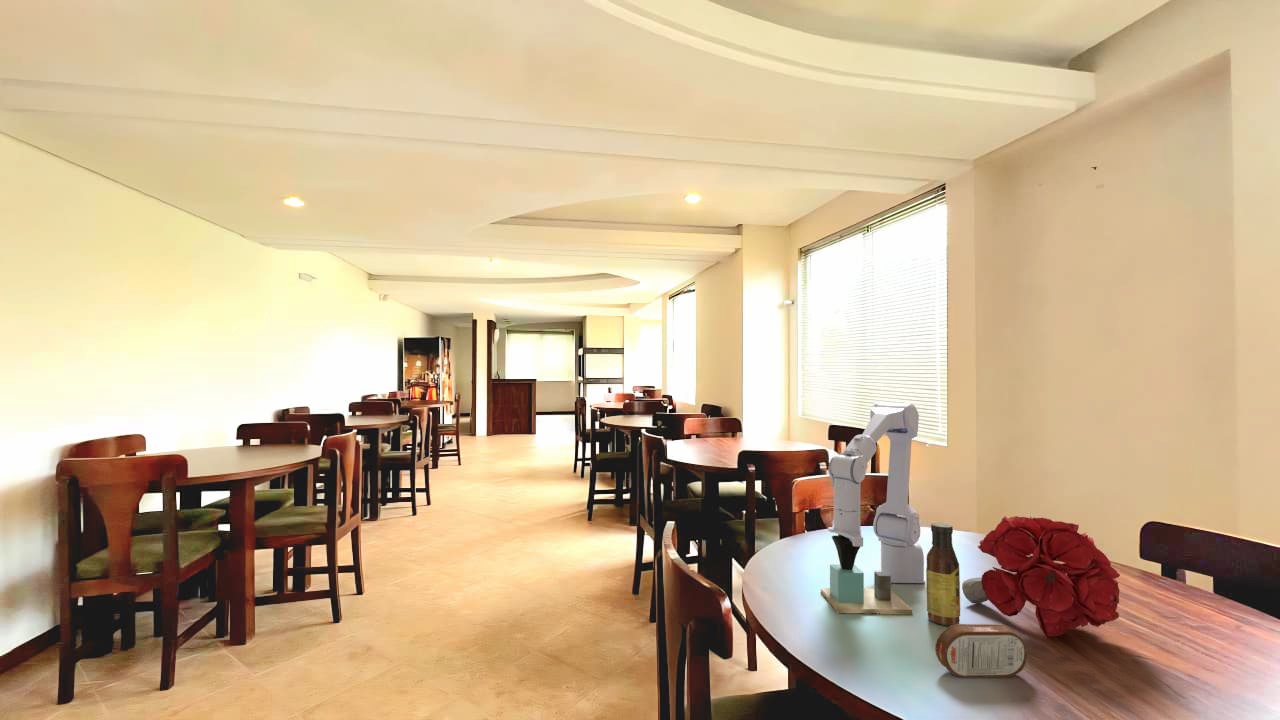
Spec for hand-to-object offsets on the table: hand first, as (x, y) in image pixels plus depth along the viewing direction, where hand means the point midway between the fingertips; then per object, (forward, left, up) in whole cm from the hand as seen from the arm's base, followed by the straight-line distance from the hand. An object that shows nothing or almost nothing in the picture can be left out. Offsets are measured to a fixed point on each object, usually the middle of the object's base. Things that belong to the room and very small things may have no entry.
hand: (846, 569), depth 132 cm
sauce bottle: (-17, +9, -8) cm, 21 cm away
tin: (-13, +31, -8) cm, 34 cm away
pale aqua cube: (0, 0, -6) cm, 6 cm away
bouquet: (-35, +11, -8) cm, 37 cm away
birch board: (-4, 0, -7) cm, 8 cm away
